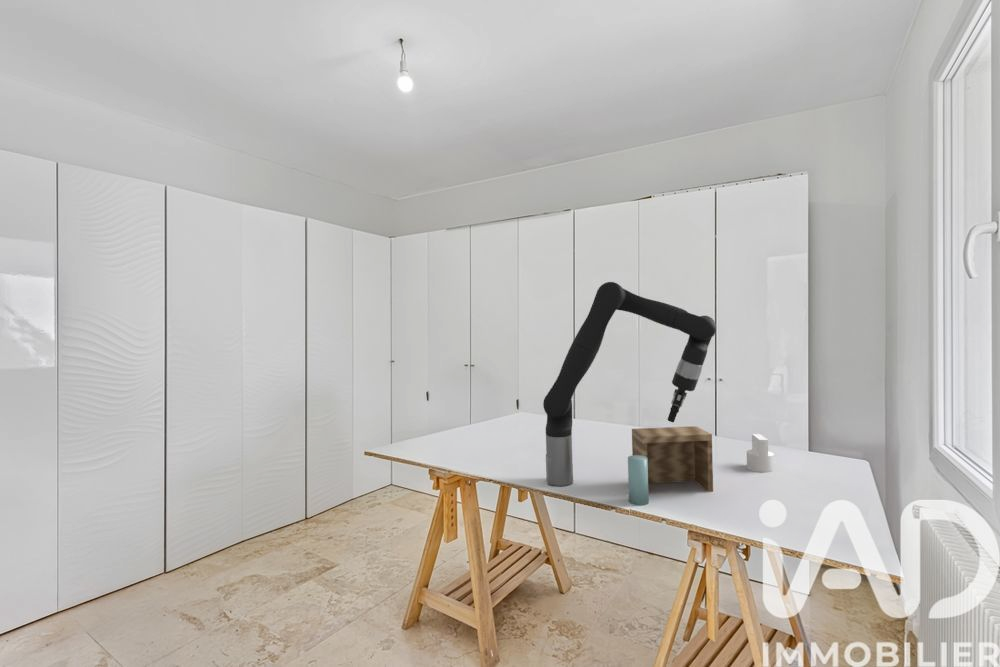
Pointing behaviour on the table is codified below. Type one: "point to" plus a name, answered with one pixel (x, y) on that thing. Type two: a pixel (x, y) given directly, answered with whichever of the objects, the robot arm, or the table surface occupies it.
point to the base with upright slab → (760, 455)
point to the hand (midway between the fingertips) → (671, 417)
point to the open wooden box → (676, 454)
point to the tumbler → (638, 479)
